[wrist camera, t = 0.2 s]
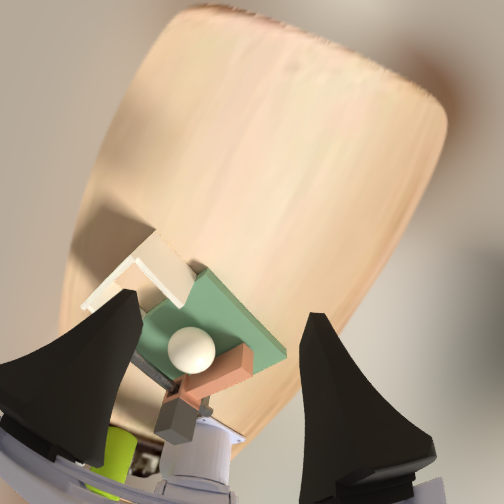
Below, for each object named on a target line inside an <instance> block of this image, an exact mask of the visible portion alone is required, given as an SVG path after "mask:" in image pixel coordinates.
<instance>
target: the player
mask: <svg viewBox="0 0 504 504" xmlns="http://www.w3.org/2000/svg"><path fill="white" fill-rule="evenodd" d="M253 356H254V352H253V351H252V350H251V349H250V348H249V347H248V346H247V345H246V344H245V343H242V344H240V345H238V346H236V347H235V348H233V349H231V350H229V351H227V352H225V353H223V354H222V355H220V356H218V357H216V358H214V360H213V362H212V364H211V365H210V366H209V367H208V368H207V369H206V370H204V371H202V372H200V373H195V374H191V375H190V376H189V375H188V374H187V373H186V374H184V375H182V376H180V377H178V378H176V379H173V381H175V382H176V383H177V384H179V385H180V389H179V393H178V394H175V395H172V394H171V393H169V392H168V391H167V390H166V393H165V396H164V399H163V403H162V407H161V411H160V414H159V417H158V420H157V423H156V426H155V430H154V434H156V435H157V436H159V437H161V438H162V439H164V440H166V441H168V442H169V443H171V444H173V445H179V444H183V443H188V442H192V440H193V435H194V430H195V425H196V420H197V415H198V411H199V409H200V404H201V399H202V398H204V397H207V396H209V395H211V394H214V393H216V392H219V391H221V390H223V389H226V388H228V387H230V386H233V385H235V384H237V383H239V382H242V381H244V380H246V379H248V378H250V377H252V376H253Z"/></svg>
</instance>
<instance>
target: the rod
mask: <svg viewBox="0 0 504 504" xmlns="http://www.w3.org/2000/svg"><path fill="white" fill-rule="evenodd" d="M142 333H143V331H142V332H141V335H142ZM141 335H140V337H141ZM131 362H132V363H133V364H134V365H135V366H136V367H138V368H139V369H140V370H141V371H142V372H144V373H145V374H146V375H147V376H149V377H150V378H151V379H152V380H154V381H155V382H156V383H158V384H159V385H160V386H161V387H163V388H164V389H165V390H167V391H168V392H169V393H171V394H172V395H175V394H178V393H179V389H180V385H179V384H177V383H176V382H175V381H173V380H172V379H171V378H170V377H168V376H167V375H166V374H164V373H163V372H162V371H161V370H160V369H158V368H157V367H156V366H155V365H153V364H152V363H151V362H150V361H149V360H148V359H146V358H145V357H144V356H143V355H142V354H141V353H139V352H138V351H137V350H136V349H135V352H134V354H133V356H132V358H131ZM209 398H210V395H209V396H207V397H204V398H202V399H201V404H200V409H199V411H198V413H200V414H201V415H203V416H204V417H206V418H208V417H210V416H211V415H212V413H213V409H212V408H211V407H209V406H208V404H209Z"/></svg>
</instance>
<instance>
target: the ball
mask: <svg viewBox="0 0 504 504" xmlns="http://www.w3.org/2000/svg"><path fill="white" fill-rule="evenodd" d="M168 355H169V358H170V360H171V362H172V364H173V365H174V366H175V367H176V368H177V369H179V370H181V371H183V372H185V373H190V374H195V373H200V372H202V371H204V370H206V369H207V368H208V367H209V366H210V365H211V364H212V362H213V360H214V357H215V345H214V342H213V340H212V338H211V337H210V336H209V335H208V333H206V332H205V331H204V330H202V329H199V328H196V327H185V328H182V329H180V330H178V331H177V332H175V333H174V334H173V335H172V337H171V338H170V340H169V343H168Z"/></svg>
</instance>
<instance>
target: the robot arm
mask: <svg viewBox="0 0 504 504" xmlns="http://www.w3.org/2000/svg"><path fill="white" fill-rule="evenodd" d="M143 325H144V324H143V320H142V316H141V311H140V307H139V302H138V297H137V293H136V291H134V290H129V289H123V290H121V291H120V292H119V293H117V294H116V295H115V296H114V297H112V298H111V299H110V300H109V301H107V302H106V303H105V304H104V305H103V306H101V307H100V308H99V309H98V310H96V311H95V312H94V313H93V314H91V315H90V316H89V317H88V318H86V319H85V320H83V321H82V322H81V323H79V324H78V325H77V326H75V327H74V328H73V329H71V330H70V331H69V332H67V333H66V334H64V335H63V336H61V337H59V338H58V339H56V340H54V341H53V342H51V343H50V344H48V345H46V346H44V347H42V348H40V349H38V350H36V351H34V352H32V353H30V354H28V355H26V356H23V357H21V358H18V359H16V360H13V361H10V362H7V363H3V364H0V410H1V411H2V412H3V413H4V415H3V416H2V417H1V416H0V477H1V478H2V479H3V480H4V481H5V482H6V483H7V484H8V485H9V486H10V487H12V488H13V489H14V490H15V491H16V492H17V493H18V494H19V495H21V496H22V497H23V498H24V499H25V500H26V501H28V502H29V503H30V504H121V503H119V502H116V501H113V500H111V499H108V498H106V497H103V496H101V495H98V494H96V493H93V492H91V491H89V490H88V489H87V488H86V485H85V484H84V483H86V484H88V485H90V486H92V487H95V488H97V489H99V490H102V491H104V492H107V493H109V494H112V495H114V496H117V497H120V498H123V499H125V500H128V501H131V502H134V503H138V504H239V500H238V496H237V495H236V494H235V493H234V492H231V491H230V492H229V488H230V486H228V478H229V467H230V457H231V446H232V444H236V443H239V442H243V441H245V437H243V436H241V435H240V434H238V433H236V432H234V431H233V430H231V429H229V428H228V427H226V426H224V425H223V424H221V423H219V422H218V421H216V420H215V419H213V418H212V417H208V418H206V417H204V416H201V417H198V418H197V420H196V425H195V430H194V435H193V440H192V442H188V443H183V444H179V445H173V444H171V443H169V442H168V441H166V440H165V444H164V448H163V452H162V455H161V459H160V464H159V468H160V472H161V475H162V477H163V478H164V479H165V480H162V481H160V482H158V483H157V485H156V488H155V491H154V493H152V492H148V491H145V490H141V489H138V488H135V487H132V486H129V485H126V484H123V483H120V482H117V481H115V480H112V479H109V478H107V477H104V476H102V475H99V474H97V473H95V472H92V471H90V470H88V469H85V468H83V467H81V466H79V465H77V464H75V462H78V463H81V464H84V463H86V464H88V465H90V466H93V467H95V468H100V467H102V466H104V456H105V447H106V439H107V433H108V427H109V422H110V418H111V413H112V409H113V405H114V402H115V398H116V395H117V391H118V389H119V386H120V383H121V381H122V379H123V376H124V374H125V372H126V369H127V367H128V365H129V363H130V361H131V358H132V356H133V354H134V352H135V349H136V347H137V345H138V342H139V338H140V335H141V332H142V329H143ZM299 367H300V376H301V385H302V393H303V402H304V412H305V443H304V461H303V474H302V482H301V491H300V497H299V504H446V497H445V491H444V485H443V479H442V477H438V478H435V479H433V480H430V481H427V482H424V483H421V484H419V485H416V486H413V485H412V481H414V480H415V479H416V477H415V472H417V471H418V470H420V469H422V468H424V467H426V466H428V465H429V464H431V463H432V462H434V461H435V460H436V458H437V456H436V452H435V447H434V443H433V440H432V437H431V436H429V435H428V434H426V433H425V432H424V431H422V430H421V429H419V428H418V427H416V426H415V425H414V424H412V423H411V422H410V421H408V420H407V419H406V418H405V417H404V416H402V415H401V414H400V413H399V412H398V411H397V410H396V409H394V408H393V407H392V406H391V405H390V404H389V403H388V402H387V401H386V400H385V399H384V398H383V397H382V396H381V395H380V393H379V392H378V391H377V390H376V389H375V388H374V387H373V386H372V384H371V383H370V382H369V381H368V380H367V378H366V377H365V376H364V374H363V373H362V372H361V371H360V369H359V368H358V366H357V365H356V364H355V362H354V360H353V359H352V358H351V356H350V355H349V353H348V351H347V350H346V348H345V347H344V345H343V344H342V342H341V341H340V339H339V337H338V335H337V334H336V332H335V330H334V329H333V327H332V325H331V323H330V322H329V320H328V318H327V316H326V315H325V313H312V312H310V314H309V317H308V320H307V323H306V327H305V330H304V333H303V336H302V339H301V342H300V345H299Z"/></svg>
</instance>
